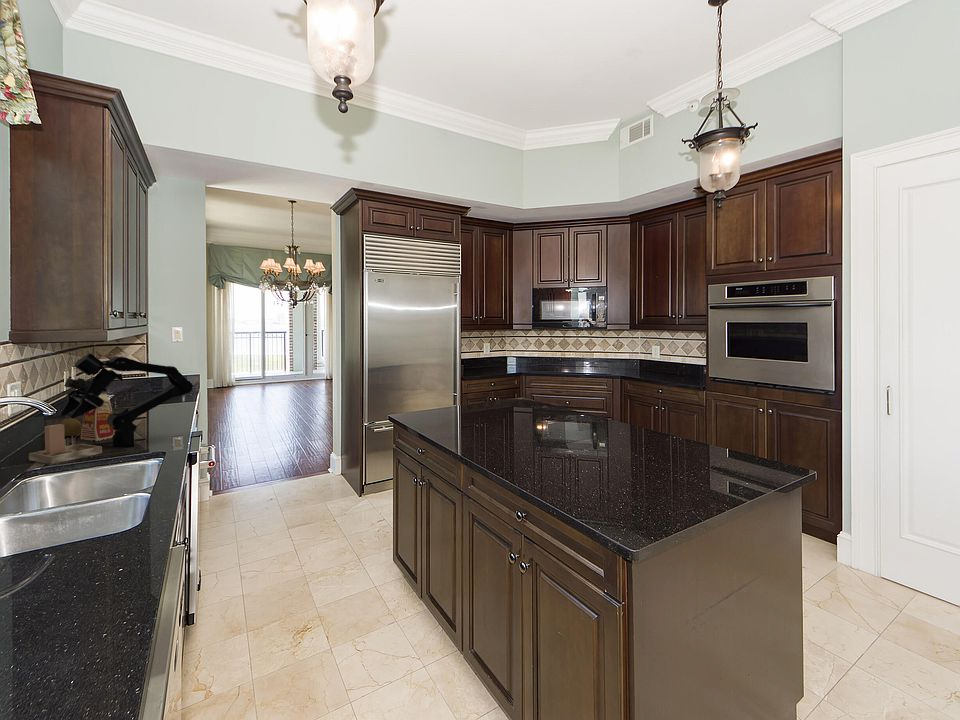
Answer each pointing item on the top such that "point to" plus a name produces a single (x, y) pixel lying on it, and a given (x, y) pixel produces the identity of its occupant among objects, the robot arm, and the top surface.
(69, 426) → the potato
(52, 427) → the pink rectangular block
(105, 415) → the milk carton
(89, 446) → the beige tray
